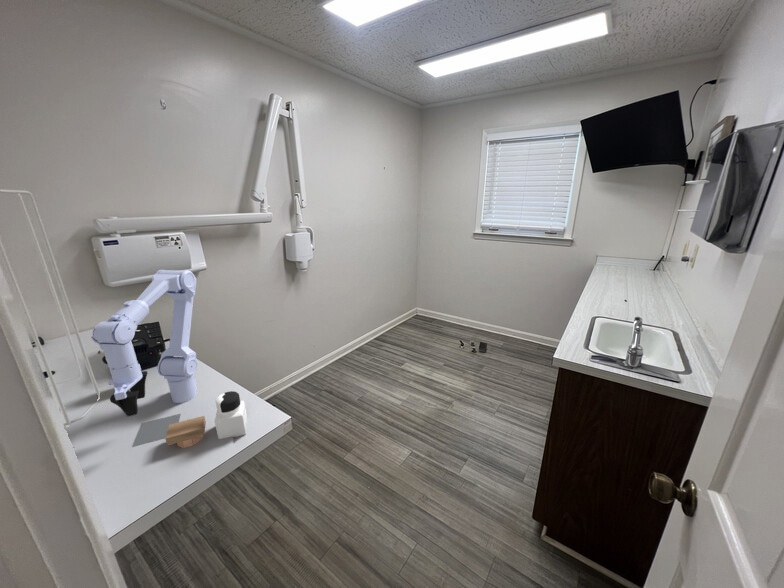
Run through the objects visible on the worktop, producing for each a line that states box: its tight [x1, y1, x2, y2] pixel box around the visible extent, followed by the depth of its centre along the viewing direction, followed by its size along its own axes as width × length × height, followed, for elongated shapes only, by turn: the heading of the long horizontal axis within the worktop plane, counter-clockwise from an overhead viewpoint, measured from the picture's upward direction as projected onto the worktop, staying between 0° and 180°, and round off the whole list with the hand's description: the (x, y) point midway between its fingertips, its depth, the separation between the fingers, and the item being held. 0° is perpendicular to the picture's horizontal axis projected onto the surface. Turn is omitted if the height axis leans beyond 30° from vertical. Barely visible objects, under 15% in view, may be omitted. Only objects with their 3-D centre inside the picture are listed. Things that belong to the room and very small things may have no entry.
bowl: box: [176, 436, 202, 449], centre depth 87 cm, size 6×6×3 cm
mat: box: [131, 413, 181, 448], centre depth 91 cm, size 10×10×1 cm
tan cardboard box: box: [164, 415, 207, 446], centre depth 86 cm, size 6×8×2 cm, turn 116°
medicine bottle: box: [214, 390, 248, 440], centre depth 90 cm, size 7×7×12 cm
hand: (136, 405), depth 86 cm, fingers open, 7 cm apart
